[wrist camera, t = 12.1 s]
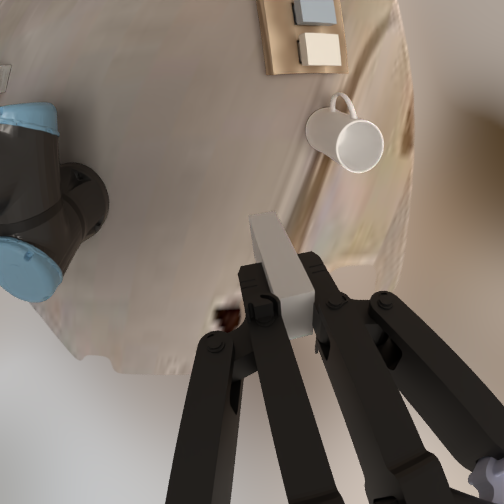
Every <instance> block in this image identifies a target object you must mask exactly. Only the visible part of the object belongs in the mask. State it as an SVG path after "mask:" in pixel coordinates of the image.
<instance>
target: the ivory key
mask: <svg viewBox="0 0 504 504" xmlns="http://www.w3.org/2000/svg"><path fill="white" fill-rule="evenodd" d="M297 48H298V56H299V62H302V66H341V55H340V45H339V37H338V34H325V33H303V34H300V35H299V42H298V43H297Z"/></svg>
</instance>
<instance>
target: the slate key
mask: <svg viewBox="0 0 504 504" xmlns="http://www.w3.org/2000/svg"><path fill="white" fill-rule="evenodd" d="M292 11H293V18H294V25H308V26H313V25H318V26H332V25H335V24H337V21H336V14H335V8H334V2H333V0H294V6H292Z"/></svg>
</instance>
